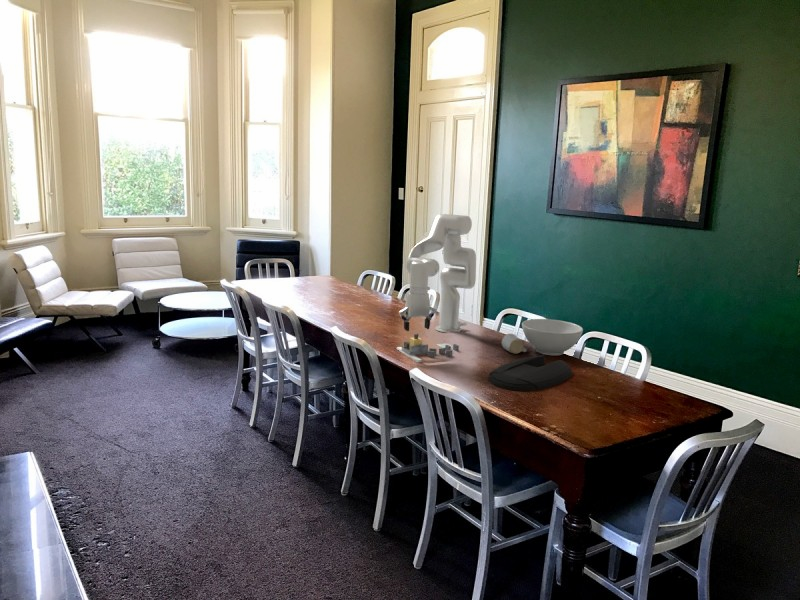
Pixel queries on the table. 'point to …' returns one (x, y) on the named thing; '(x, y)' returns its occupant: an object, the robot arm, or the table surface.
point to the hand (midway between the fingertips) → (416, 329)
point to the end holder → (414, 348)
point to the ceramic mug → (513, 344)
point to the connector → (415, 340)
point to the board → (434, 351)
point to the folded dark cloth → (530, 374)
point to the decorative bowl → (551, 335)
